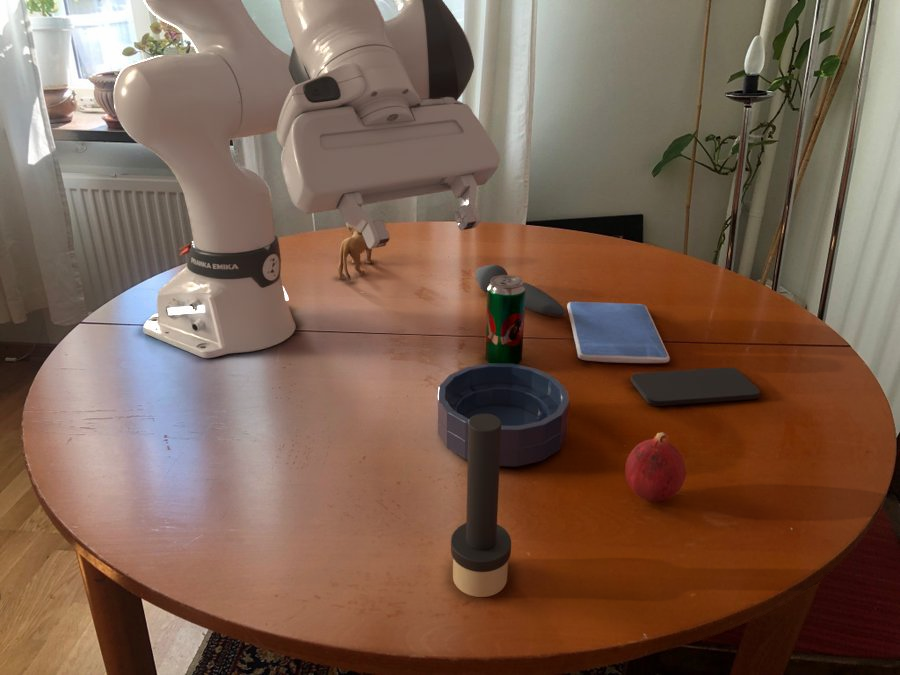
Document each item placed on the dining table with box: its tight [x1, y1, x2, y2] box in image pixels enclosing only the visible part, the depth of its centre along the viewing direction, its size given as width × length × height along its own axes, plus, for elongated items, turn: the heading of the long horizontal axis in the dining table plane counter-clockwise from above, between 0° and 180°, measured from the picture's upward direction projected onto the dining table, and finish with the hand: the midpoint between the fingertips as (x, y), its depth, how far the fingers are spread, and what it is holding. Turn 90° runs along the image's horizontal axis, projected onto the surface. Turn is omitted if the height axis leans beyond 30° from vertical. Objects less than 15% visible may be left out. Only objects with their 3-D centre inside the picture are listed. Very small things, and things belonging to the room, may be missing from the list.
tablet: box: [566, 301, 671, 364], centre depth 110 cm, size 19×13×1 cm, turn 177°
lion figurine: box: [337, 222, 374, 282], centre depth 132 cm, size 15×5×9 cm, turn 178°
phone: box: [630, 366, 761, 407], centre depth 95 cm, size 7×1×15 cm
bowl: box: [437, 362, 570, 467], centre depth 85 cm, size 15×15×6 cm
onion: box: [624, 431, 687, 503], centre depth 74 cm, size 6×6×8 cm
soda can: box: [484, 274, 526, 365], centre depth 99 cm, size 5×5×12 cm
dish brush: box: [450, 414, 512, 598], centre depth 62 cm, size 5×5×16 cm
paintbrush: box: [475, 264, 566, 318], centre depth 120 cm, size 20×5×5 cm, turn 48°
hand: (427, 235), depth 65 cm, fingers open, 8 cm apart
